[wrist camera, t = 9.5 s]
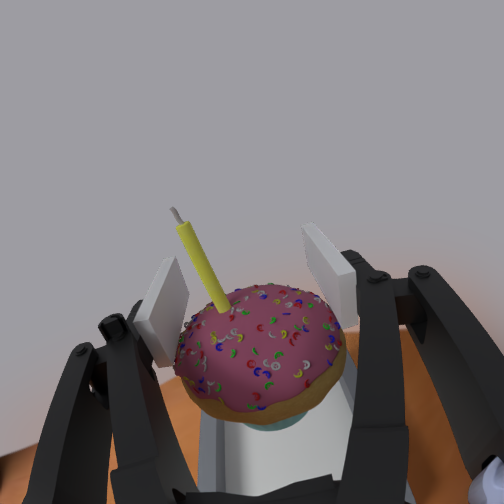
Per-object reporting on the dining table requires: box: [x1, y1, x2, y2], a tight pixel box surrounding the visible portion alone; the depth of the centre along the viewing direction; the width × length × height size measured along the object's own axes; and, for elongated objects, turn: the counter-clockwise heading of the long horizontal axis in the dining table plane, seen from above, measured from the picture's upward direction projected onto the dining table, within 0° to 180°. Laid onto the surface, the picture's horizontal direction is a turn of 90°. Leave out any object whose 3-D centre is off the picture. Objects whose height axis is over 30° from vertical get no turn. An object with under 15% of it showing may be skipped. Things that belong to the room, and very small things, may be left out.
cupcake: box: [170, 207, 347, 431], centre depth 13 cm, size 9×8×12 cm
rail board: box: [197, 350, 416, 504], centre depth 19 cm, size 20×16×4 cm
